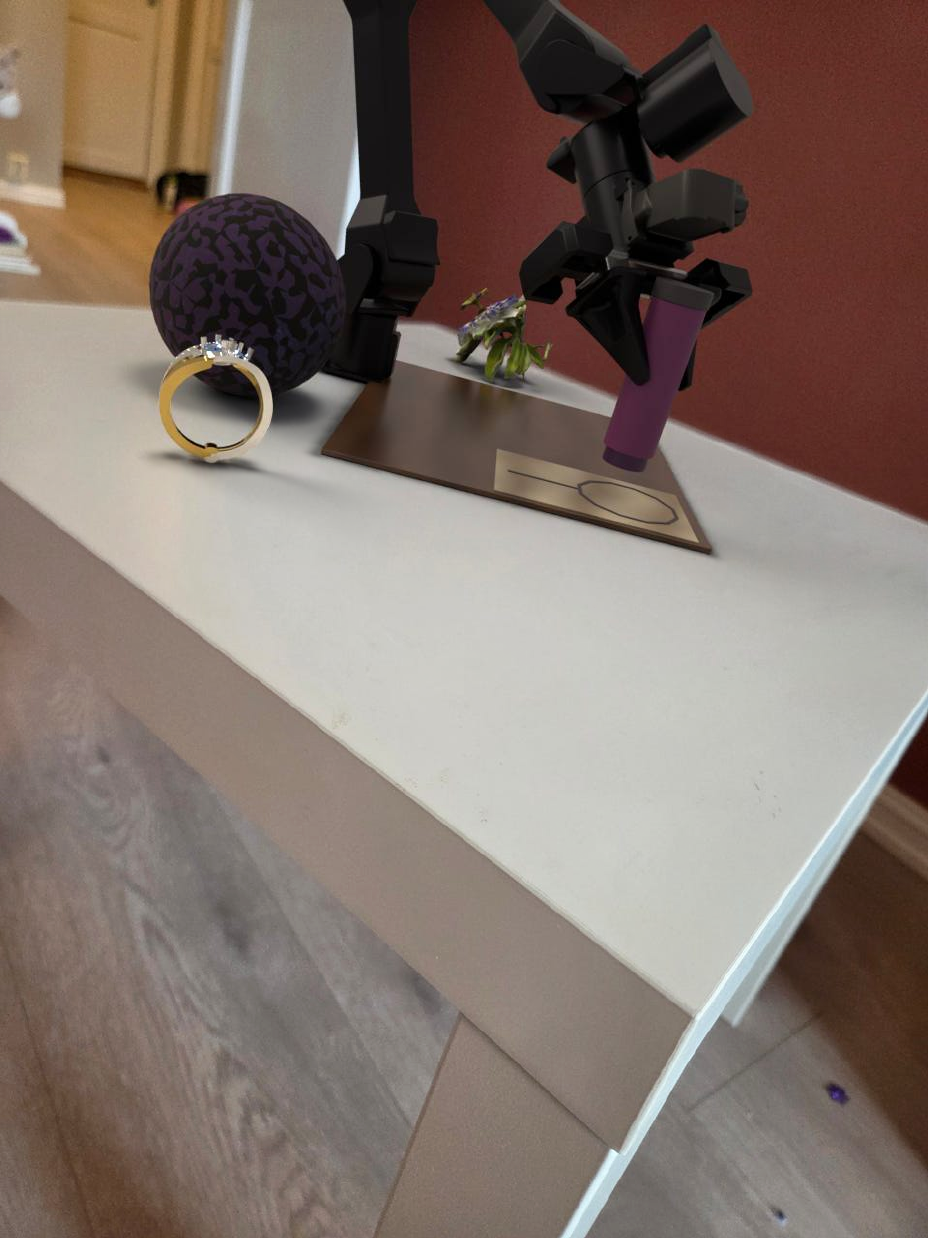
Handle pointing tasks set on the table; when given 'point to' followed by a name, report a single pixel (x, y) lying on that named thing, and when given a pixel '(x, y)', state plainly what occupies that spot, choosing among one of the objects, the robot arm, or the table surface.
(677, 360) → the dauber
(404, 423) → the board
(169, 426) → the ring
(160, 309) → the toy ball
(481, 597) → the table surface
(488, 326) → the passion flower
